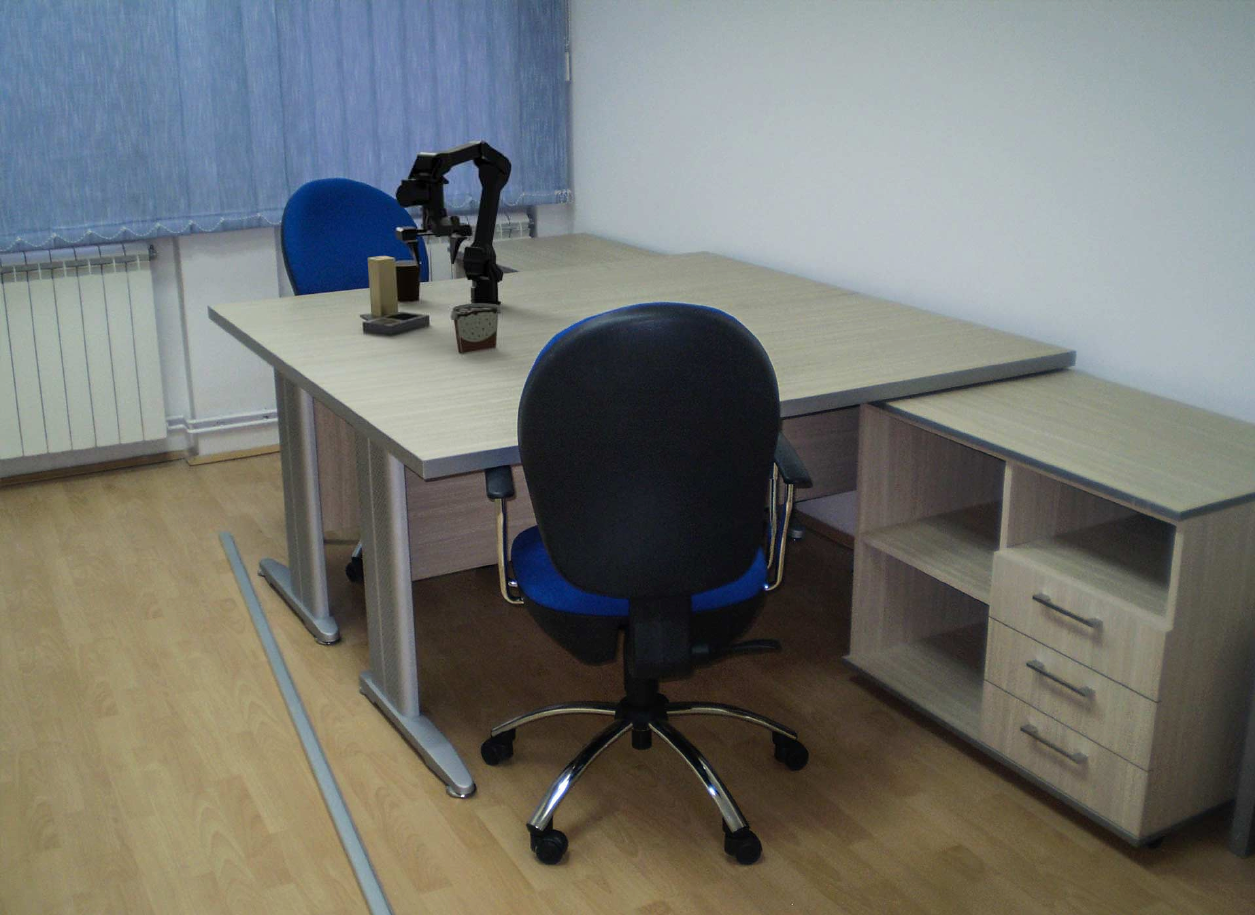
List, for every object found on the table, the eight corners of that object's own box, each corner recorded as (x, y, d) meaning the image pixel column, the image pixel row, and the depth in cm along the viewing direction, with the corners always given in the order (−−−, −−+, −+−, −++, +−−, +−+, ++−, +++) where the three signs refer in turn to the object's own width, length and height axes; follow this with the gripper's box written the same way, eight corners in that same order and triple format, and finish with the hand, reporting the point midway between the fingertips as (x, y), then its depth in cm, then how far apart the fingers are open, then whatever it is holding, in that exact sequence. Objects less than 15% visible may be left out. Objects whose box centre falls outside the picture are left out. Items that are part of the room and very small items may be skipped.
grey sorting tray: (402, 321, 322) (401, 311, 321) (429, 325, 318) (429, 314, 317) (363, 331, 311) (362, 321, 310) (391, 336, 306) (390, 325, 305)
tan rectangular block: (388, 313, 329) (385, 255, 324) (398, 316, 326) (395, 258, 321) (371, 316, 326) (367, 257, 321) (381, 319, 322) (377, 260, 318)
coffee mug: (416, 303, 344) (414, 266, 340) (386, 302, 345) (384, 265, 342) (431, 295, 354) (429, 259, 351) (402, 294, 356) (400, 258, 353)
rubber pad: (397, 312, 332) (396, 310, 332) (409, 319, 324) (409, 318, 324) (359, 316, 328) (359, 314, 328) (371, 323, 319) (371, 322, 319)
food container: (487, 342, 300) (485, 300, 297) (501, 347, 296) (500, 304, 292) (442, 350, 293) (440, 307, 290) (456, 355, 288) (454, 311, 285)
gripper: (408, 209, 308) (411, 273, 313) (479, 205, 317) (481, 267, 322) (393, 204, 318) (396, 266, 323) (463, 200, 326) (465, 260, 331)
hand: (435, 265), depth 324 cm, fingers open, 9 cm apart
